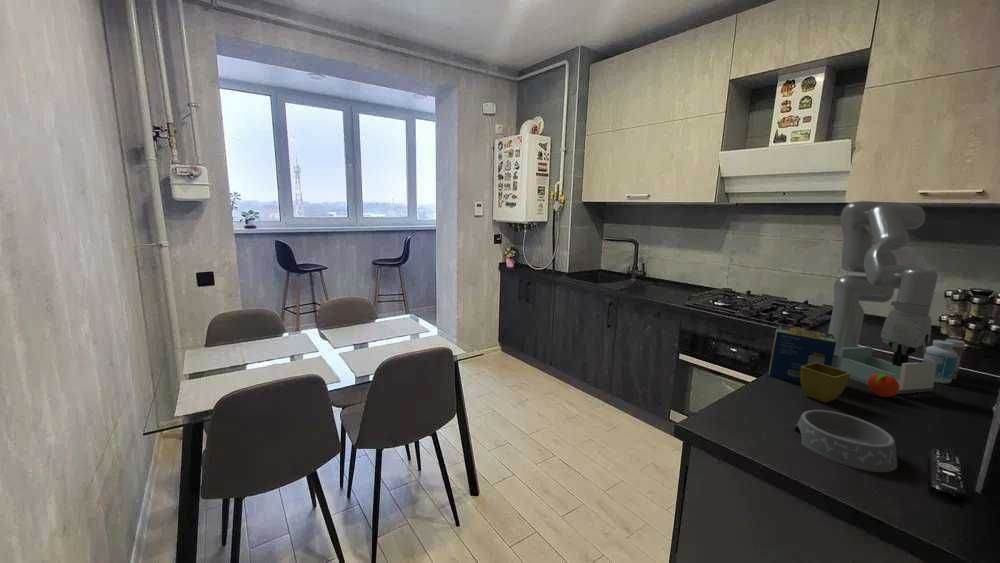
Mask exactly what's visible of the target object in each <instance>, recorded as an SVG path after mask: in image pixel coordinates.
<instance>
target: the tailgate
mask: <svg viewBox="0 0 1000 563" xmlns="http://www.w3.org/2000/svg"><path fill="white" fill-rule="evenodd" d="M936 365H937V362H923V361H919V362H918V361H917V362H907V363H902V368H901V375H900V382H899V389H900V390H899V391H898V392H899V393H905V394H909V393H908V392H918V393H922V392H921V391H924V392H931V391H934V386H935V382H934V379H935V372H936Z"/></svg>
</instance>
